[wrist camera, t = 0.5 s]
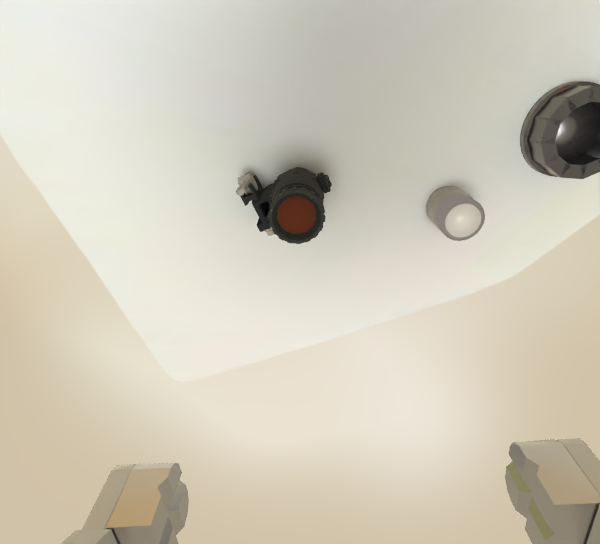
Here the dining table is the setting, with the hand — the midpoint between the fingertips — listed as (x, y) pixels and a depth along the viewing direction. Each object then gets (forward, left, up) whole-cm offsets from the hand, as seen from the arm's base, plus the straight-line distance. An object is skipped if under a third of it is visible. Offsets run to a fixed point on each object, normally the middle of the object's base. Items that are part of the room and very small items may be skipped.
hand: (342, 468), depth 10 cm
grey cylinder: (+4, +17, -44) cm, 47 cm away
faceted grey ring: (-6, +29, -44) cm, 53 cm away
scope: (+3, -3, -44) cm, 44 cm away
